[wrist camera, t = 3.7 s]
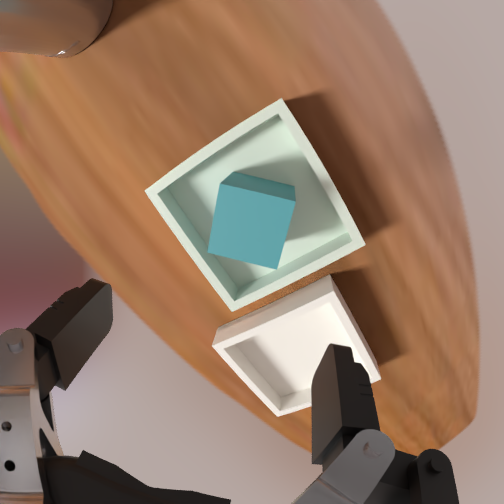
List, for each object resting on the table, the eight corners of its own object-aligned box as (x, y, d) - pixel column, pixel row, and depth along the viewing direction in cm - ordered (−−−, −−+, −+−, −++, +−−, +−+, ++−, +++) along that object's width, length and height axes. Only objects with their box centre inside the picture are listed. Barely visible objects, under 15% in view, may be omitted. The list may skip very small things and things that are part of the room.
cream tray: (218, 327, 32) (211, 345, 29) (329, 274, 28) (333, 290, 25) (278, 398, 35) (277, 416, 32) (376, 360, 31) (381, 378, 29)
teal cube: (221, 228, 26) (207, 252, 22) (233, 171, 24) (219, 183, 20) (279, 243, 26) (276, 269, 22) (294, 186, 24) (295, 201, 20)
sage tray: (158, 183, 26) (144, 191, 23) (282, 101, 22) (281, 98, 20) (237, 294, 30) (232, 311, 27) (358, 231, 26) (365, 244, 23)
